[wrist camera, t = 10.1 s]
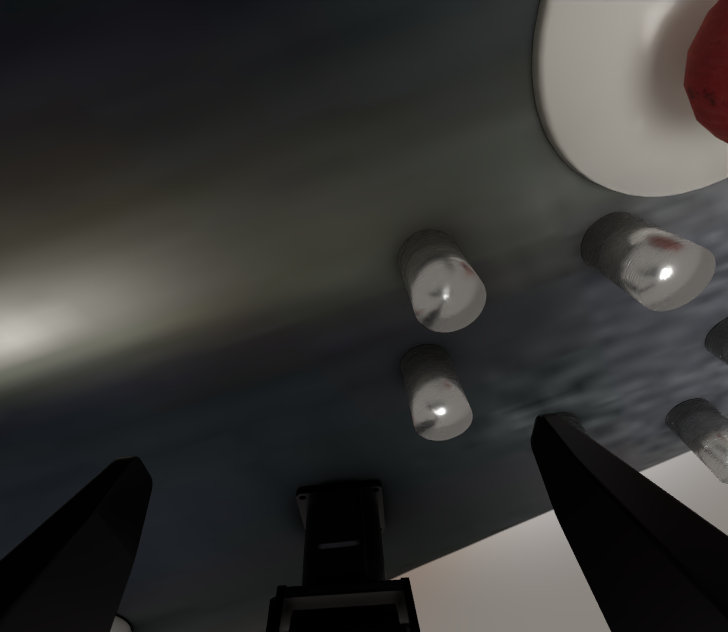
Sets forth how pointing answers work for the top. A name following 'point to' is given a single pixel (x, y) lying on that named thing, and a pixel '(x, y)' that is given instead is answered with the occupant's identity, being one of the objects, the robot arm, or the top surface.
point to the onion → (710, 72)
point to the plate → (624, 94)
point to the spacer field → (603, 253)
